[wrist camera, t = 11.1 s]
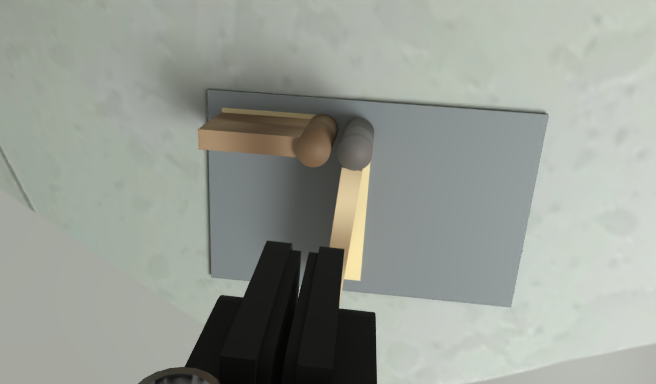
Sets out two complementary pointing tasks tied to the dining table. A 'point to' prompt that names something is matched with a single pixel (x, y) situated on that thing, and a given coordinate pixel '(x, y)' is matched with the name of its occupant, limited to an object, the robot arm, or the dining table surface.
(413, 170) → the card
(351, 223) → the tan wooden board
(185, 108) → the dining table surface
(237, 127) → the fence section
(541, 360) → the dining table surface
